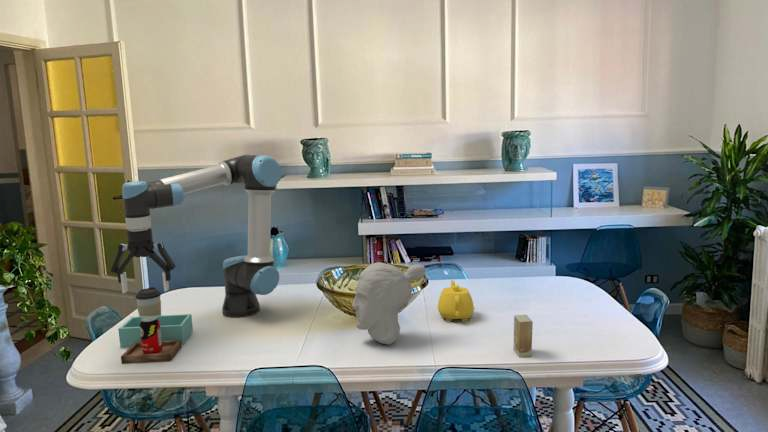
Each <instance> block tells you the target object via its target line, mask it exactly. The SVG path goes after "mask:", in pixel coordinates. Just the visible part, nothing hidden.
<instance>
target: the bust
mask: <svg viewBox="0 0 768 432" xmlns="http://www.w3.org/2000/svg"><path fill="white" fill-rule="evenodd" d="M425 274H426V267H425V266H424V265H423V264H418V263H416V264H411V266H409V267H408V268H407V270H406V271H403V270H402V269H400V268H399V267H397V266H395V265H392V264H388V263H385V262H378V261H377V262H375V263H372V264H370V265H368V266H367V267H365V268H364V269H363V270H362V271H361V273H360V275H359V276H358V280H357V282H356V288H355V296H354V299H353V301H352V304H351V308H353V310H355V313H354V314H355V317H356V319H357V320H356V325H355V326H356V328H357V329H358V330H362V331H364V330H367V333H368V335H370V338H371V339H373V340H374V341H377V342H379V343H380V344H383V345H392V343H394V342H395V341H397V339H398V338H399V335H400V332H401V326H400V323H399V311H400V309H401V308H403V307H404V306H405V305H406V304H407V303H408V301H409V299H411V296H412V292H413V287H412V281H419V280H421V279H423V278H424V276H425Z"/></svg>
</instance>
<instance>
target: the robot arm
mask: <svg viewBox="0 0 768 432" xmlns="http://www.w3.org/2000/svg"><path fill="white" fill-rule="evenodd" d="M281 178H282V168H281V165H280V164H279V162H278V161H277V160H276V158H274V157H272V156H269V155H263V154H260V155H259V154H258V155H257V154H256V155H255V154H242V155H239V156H236V157H233V158H228V159H226V160H222V161H219V162H218V163H217V164H215V165H213V166H208V167H204V168H201V169H196V170H192V171H189V172H184V173H180V174H177V175H176V174H175V175H171V176H169V177H164V178H160V179H157V180H156V179H155V180H151V181H144V180H141V181H128V182H125V183H123V184H122V187H121V190H122V191H121V192H122V193H121V195H122V196H121V197H122V200H123V210H124V218H125V227H126V230H127V231H126V235H127V236H126V237H127V238H126V239H127V244H126V243H120V244H118V247H117V248H118V249H117V250H118V251H117V253H116V256H115V260H114V261H113V264H112V266H111V269H110V272H111V273H115V274H117V281H118V283H119V284H120V285H121V291H122V294H125V293H127V292H129V287H128V278H127V272H125V271H124V270H126V268H127V266H129V264H130V262H131V261H132V260H133V259H134V257H136V258H141V257H142V258H146V257H148V258H149V259H151V260H152V261H153V262H154V263H156V264H157V265H158V267H160V268H161V269H162V270H163V271H162V272H161V273H162V283H163V291H164V292H168V291H169V290H170V285H169V281H171V279H172V278H171V277H172V276H171V274H172V273H171V271H172V270H174V269H175V268H176V267H177V266H176V264H175V263H174V261H173V260H172V258H171V256H170V255H169V253H168V251H167V250H166V249H165V245H164V241H160V242H155V243H154V240H153V230H152V228H151V227H152V221H151V210H153V209H160V208H161V209H162V208H167V207H175V206H179V205H182V204H183V203H184V201H185V195H187V194H190V193H194V192H197V191H201V190H206V189H209V188H212V187H216V186H220V185H224V186H230V185H236V184H239V185H241V184H243V185H244V192H246V193H247V195H248V199H247V200H248V202H247V203H248V209H247V210H248V211H247V214H248V215H247V219H248V220H247V255H238V256H232V257H228V258H226V259H224V260H223V261H222V262H223V263H222V265H223V266H222V270H223V278H224V279H223V281H224V291H225V295H224V299H223V304H222V307H221V308H222V309H221V310H222V314H223V316H225V317H230V318H241V317H242V318H244V317H248V316H252V315H254V314H256V313H259V312H260V310H261V305H260V302H259V299H258V297H257V295H260V296H265V295H269V294H271V293H272V292H273V291H274V290H275V289H276V288H277V286H278V284H279V282H280V272H279V270H277V268H276V267H275V266H274V264H275V261H274V260H275V259H274V258H273V257H272V256H271V216H272V212H271V210H272V209H271V208H272V194H274V192H276V186H277V185H278V183H279V182H280V181H281ZM154 249H156V250H158V252H159V254H160V256H161V257H160V256H159V255H158V254H157V252H156V251H154ZM127 250H129V254H128V255H127V256H126V259H125V260H124V261H123V262H122V264H121V261H122V259H123V256H124V254H125V252H126V251H127ZM120 264H121V266H120Z"/></svg>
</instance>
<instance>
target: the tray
mask: <svg viewBox="0 0 768 432" xmlns="http://www.w3.org/2000/svg"><path fill="white" fill-rule="evenodd" d="M182 347H183V345H182V344H181V340H171V341H162V349H161V351H160V352H159V353H157V354H145V353H143V351H142V343H141V342H135V343H134V344H133V345H132V346H131V347H128V349H127V350H126V351H125V352H124V353H123V354H122V355H121V356H120V361H121V364H140V363H161V362H162V363H163V362H164V363H165V362H172V361H173V359H174V357H176V355H177V354H178V353H179V351H180V350H181V348H182Z"/></svg>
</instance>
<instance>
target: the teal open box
mask: <svg viewBox="0 0 768 432" xmlns="http://www.w3.org/2000/svg"><path fill="white" fill-rule="evenodd" d="M144 317H148V316H140V317H139V316H131V317H130V318H128V319H127V320H126V321H125V322H124V323H123V324H122V325H121V326H120V327H118V335H119V337H118V339H119V346H120V348H130V347H131V346H132V345H133V344H134V343H135V342H141V334H140V323H141V319H142V318H144ZM156 317H157V319H158V320H159V322H160V331H161V340H162V341H171V340H181V344H182V346H183V345H184V344H185V343H186V341H188V339H189V338H190V337H191V335H192V334H193V333H194V329H193V328H194V326H193V319H192V314H190V313H189V314H187V313H186V314H169V315H167V314H166V315H165V314H163V315H162V314H161V316H156Z"/></svg>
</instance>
